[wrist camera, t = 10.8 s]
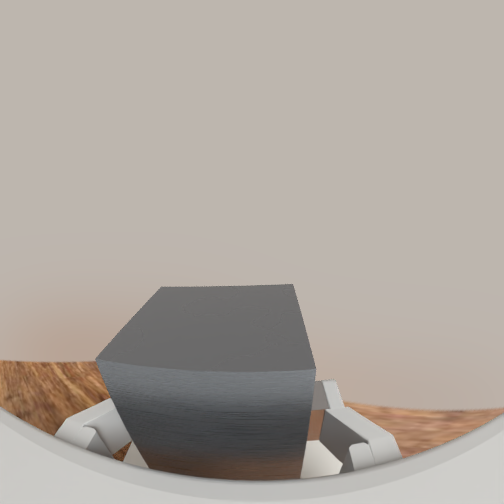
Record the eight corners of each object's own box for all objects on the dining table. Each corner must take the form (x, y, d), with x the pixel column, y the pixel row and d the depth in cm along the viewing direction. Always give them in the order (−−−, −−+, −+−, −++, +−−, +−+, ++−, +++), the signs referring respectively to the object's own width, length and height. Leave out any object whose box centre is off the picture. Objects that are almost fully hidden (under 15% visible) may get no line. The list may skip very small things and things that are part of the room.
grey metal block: (182, 514, 8) (95, 358, 5) (198, 444, 12) (161, 286, 10) (290, 519, 7) (316, 368, 5) (286, 446, 12) (292, 284, 10)
